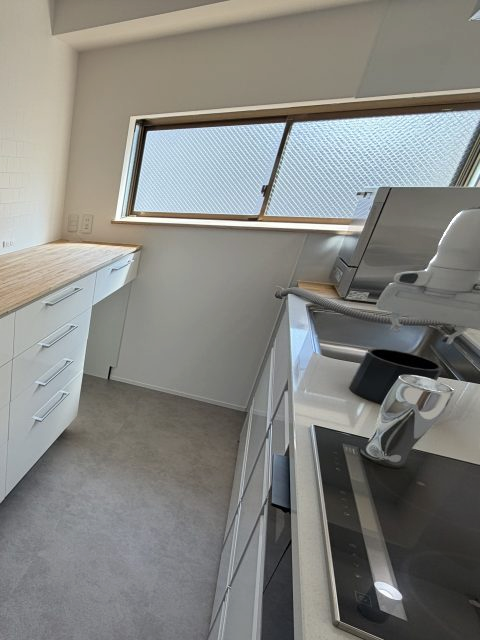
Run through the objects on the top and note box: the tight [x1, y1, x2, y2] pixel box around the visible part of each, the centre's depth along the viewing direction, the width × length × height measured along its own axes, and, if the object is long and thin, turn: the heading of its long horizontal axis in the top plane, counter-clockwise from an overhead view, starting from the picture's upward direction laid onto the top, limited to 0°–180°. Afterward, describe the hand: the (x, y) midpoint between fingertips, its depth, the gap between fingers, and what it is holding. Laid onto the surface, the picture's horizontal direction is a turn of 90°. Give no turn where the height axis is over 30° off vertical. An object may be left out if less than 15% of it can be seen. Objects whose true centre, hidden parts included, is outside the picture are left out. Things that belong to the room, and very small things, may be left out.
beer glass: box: [359, 375, 456, 469], centre depth 70 cm, size 7×7×15 cm
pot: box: [348, 348, 444, 405], centre depth 94 cm, size 12×12×10 cm
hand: (419, 337), depth 101 cm, fingers open, 8 cm apart
